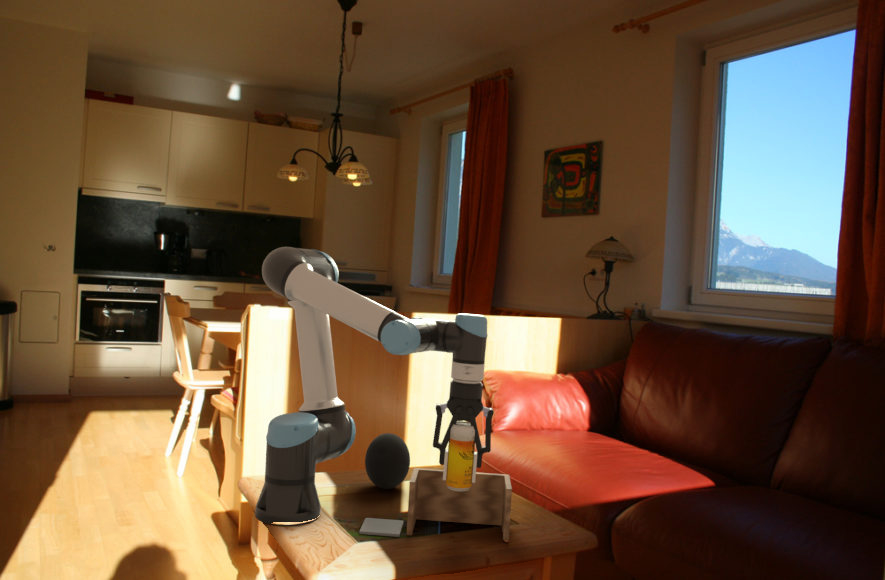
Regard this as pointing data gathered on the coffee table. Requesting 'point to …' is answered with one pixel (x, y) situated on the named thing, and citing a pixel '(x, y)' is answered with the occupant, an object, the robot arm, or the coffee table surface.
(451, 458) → the beer can
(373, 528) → the slate coaster
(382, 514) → the coffee table surface
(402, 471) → the decorative egg
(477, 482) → the wooden monitor riser
